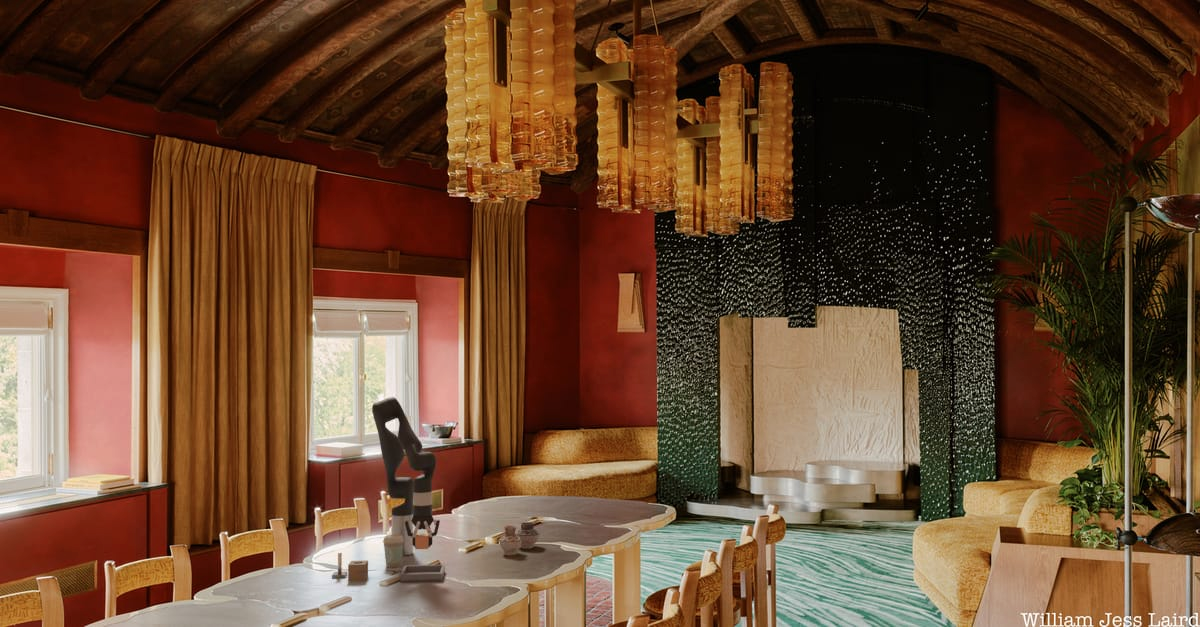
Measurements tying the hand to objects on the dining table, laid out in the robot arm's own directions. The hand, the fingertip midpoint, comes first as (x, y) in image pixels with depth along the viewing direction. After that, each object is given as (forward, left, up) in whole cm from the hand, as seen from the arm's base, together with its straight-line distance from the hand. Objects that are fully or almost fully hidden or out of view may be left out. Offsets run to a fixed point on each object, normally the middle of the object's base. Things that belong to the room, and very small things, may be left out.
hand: (422, 546), depth 361 cm
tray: (0, 0, -12) cm, 12 cm away
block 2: (0, 0, 0) cm, 0 cm away
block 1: (0, -25, -12) cm, 28 cm away
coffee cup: (-20, -14, -12) cm, 27 cm away
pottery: (-42, +38, -12) cm, 58 cm away
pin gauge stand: (-5, -33, -12) cm, 35 cm away
